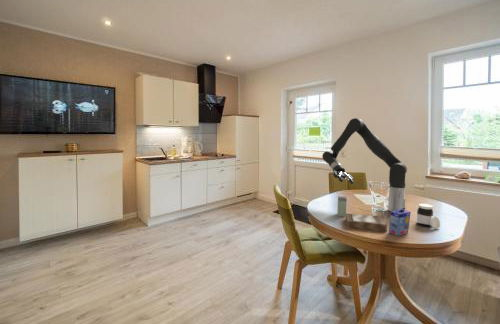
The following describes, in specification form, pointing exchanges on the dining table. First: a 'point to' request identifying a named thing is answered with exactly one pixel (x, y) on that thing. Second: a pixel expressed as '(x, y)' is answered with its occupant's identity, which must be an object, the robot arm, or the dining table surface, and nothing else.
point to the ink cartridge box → (399, 222)
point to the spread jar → (427, 216)
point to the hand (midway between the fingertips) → (347, 182)
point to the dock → (366, 222)
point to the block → (342, 206)
